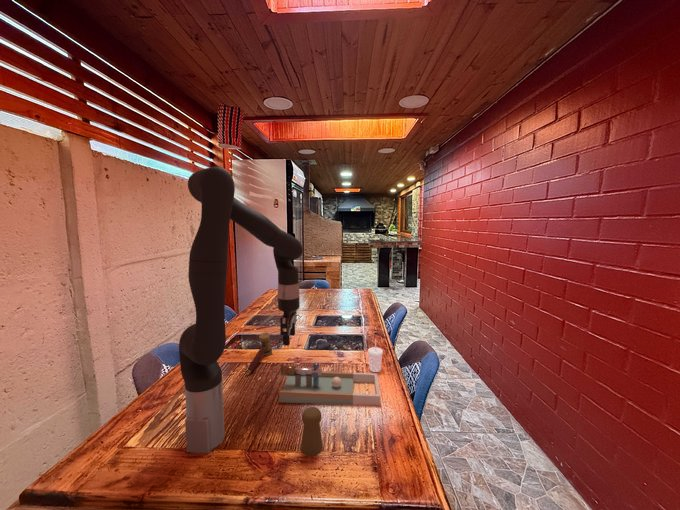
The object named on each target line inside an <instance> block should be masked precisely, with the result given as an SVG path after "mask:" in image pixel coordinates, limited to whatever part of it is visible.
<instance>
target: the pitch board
mask: <svg viewBox="0 0 680 510" xmlns="http://www.w3.org/2000/svg"><path fill="white" fill-rule="evenodd" d="M334 377H339V378H340V379H341V385H340V386H339V387H334V386H333V385H332V379H333V378H334ZM354 383H366V384H367V383H369V384H370V383H371V384H372V383H373V384H374V392H375V394H374V393H354ZM379 385H380V384H379V380H378V373H376V372H374V373H373V372H372V373H371V372H370V373H369V372H345V371H344V372H343V371H323V370H322V375H319V384H318V387H313V375H302V374H295V376H287V377H286V381H285V383H284V385H283V387H282V389H281V390H279V393H278V395H279V396H278V398H279V399H278V400H279V401H278V402H279V403H288V404H289V403H290V404H316V405H317V404H318V405H319V404H321V405H323V404H324V405H326V404H327V405H351V406H352V405H355V406H357V405H358V406H360V405H361V406H381V393H380V392H381V391H380V386H379Z"/></svg>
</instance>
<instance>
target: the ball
mask: <svg viewBox="0 0 680 510" xmlns="http://www.w3.org/2000/svg"><path fill="white" fill-rule="evenodd" d="M332 385H333V386H334V387H339V386H340V385H341V379H340V378H339V377H334V378H333V379H332Z"/></svg>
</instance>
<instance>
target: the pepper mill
mask: <svg viewBox="0 0 680 510" xmlns="http://www.w3.org/2000/svg"><path fill="white" fill-rule="evenodd" d="M301 420H302V423H303V430H302V435H301V436H302V437H301V443H300V445H301V446H300V450H301V453H302V454H304V455H305V456H308V457H314V456H317V455H319V454H320V453H321V452H322V450H323V446H324V445H323V439H322V430H321V421H322V412H321V410H320V409H319V408H318V407H315V406H309V407H306V408H305V409H304V410H303V412H302V415H301Z"/></svg>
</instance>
